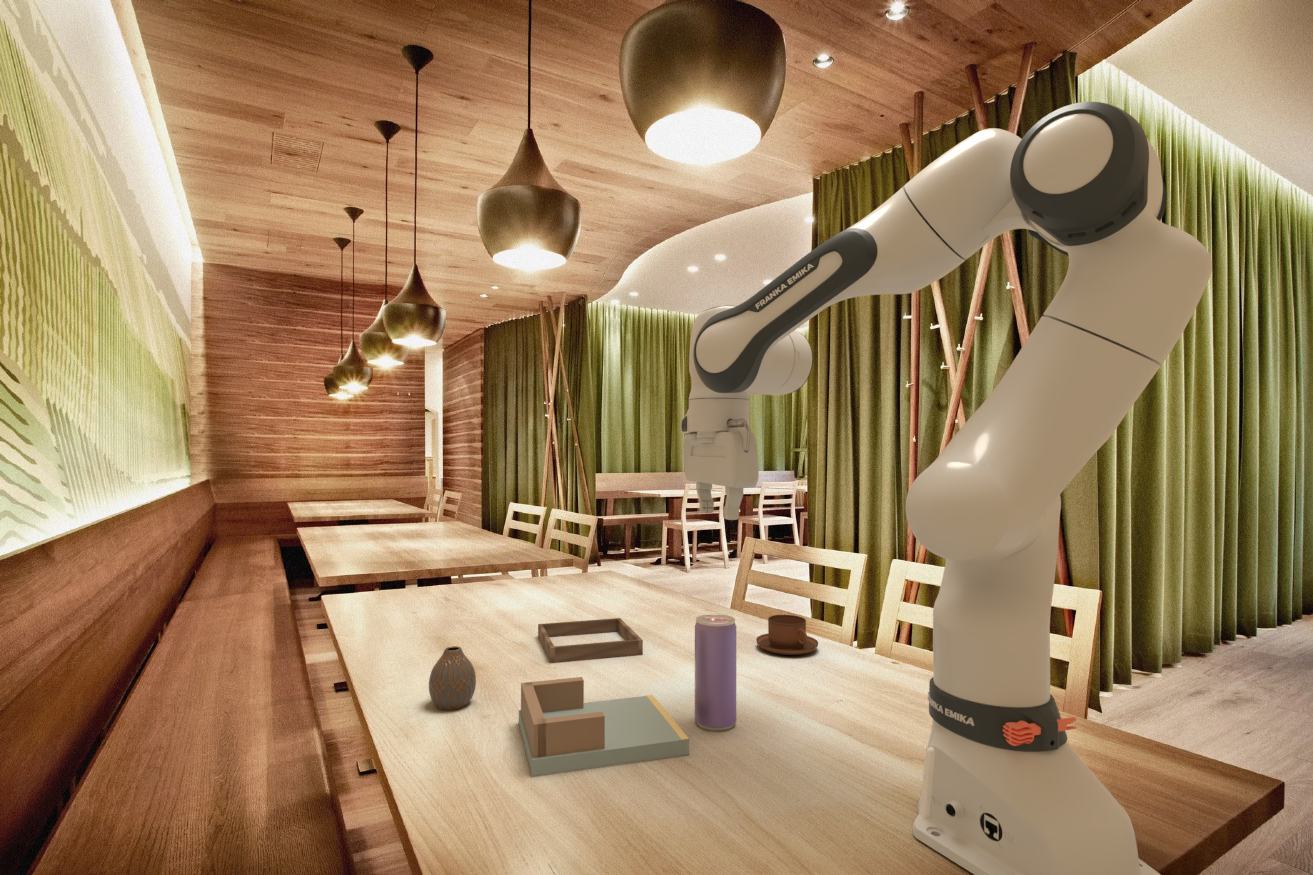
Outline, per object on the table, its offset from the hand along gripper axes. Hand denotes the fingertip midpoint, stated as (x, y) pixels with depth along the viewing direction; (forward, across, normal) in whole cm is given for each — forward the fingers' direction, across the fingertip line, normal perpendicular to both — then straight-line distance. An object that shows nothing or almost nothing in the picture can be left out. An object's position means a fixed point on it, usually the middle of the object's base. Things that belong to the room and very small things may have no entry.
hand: (718, 515), depth 95 cm
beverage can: (+30, 0, 0) cm, 30 cm away
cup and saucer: (+30, +29, -26) cm, 49 cm away
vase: (+30, +17, +37) cm, 50 cm away
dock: (+30, -1, +17) cm, 34 cm away
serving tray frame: (+30, +41, +11) cm, 52 cm away
